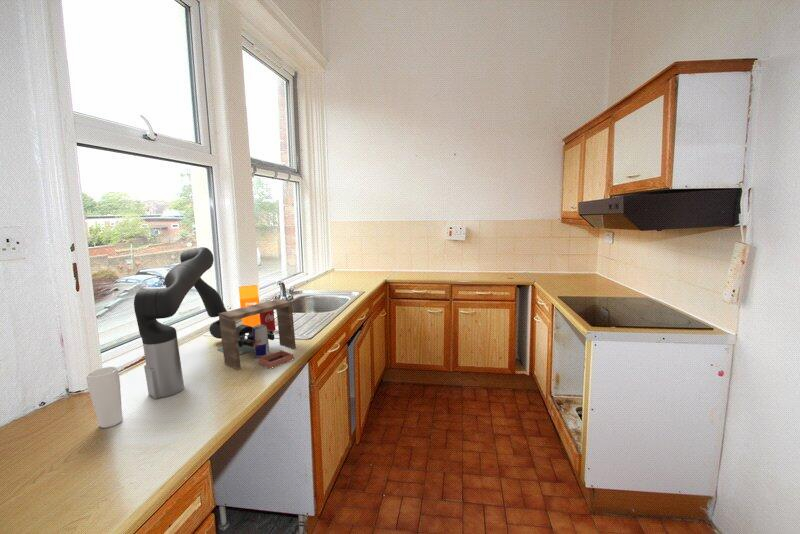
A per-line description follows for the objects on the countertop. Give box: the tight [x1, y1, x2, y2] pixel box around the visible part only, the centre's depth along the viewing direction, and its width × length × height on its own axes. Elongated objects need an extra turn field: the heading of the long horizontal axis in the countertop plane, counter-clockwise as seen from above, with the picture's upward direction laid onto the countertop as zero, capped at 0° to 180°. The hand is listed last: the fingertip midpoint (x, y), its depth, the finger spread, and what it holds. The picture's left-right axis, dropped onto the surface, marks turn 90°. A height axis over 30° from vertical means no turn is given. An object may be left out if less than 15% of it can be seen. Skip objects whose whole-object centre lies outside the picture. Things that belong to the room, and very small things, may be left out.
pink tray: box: [257, 349, 295, 369], centre depth 144 cm, size 10×8×2 cm
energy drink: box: [252, 325, 271, 359], centre depth 149 cm, size 5×5×12 cm
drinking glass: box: [86, 366, 124, 429], centre depth 105 cm, size 7×7×15 cm
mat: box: [216, 341, 255, 356], centre depth 160 cm, size 14×14×1 cm
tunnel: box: [218, 298, 297, 371], centre depth 149 cm, size 25×9×20 cm, turn 140°
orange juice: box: [238, 284, 261, 327], centre depth 191 cm, size 8×9×20 cm
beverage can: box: [259, 310, 276, 333], centre depth 179 cm, size 6×6×12 cm
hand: (263, 340), depth 148 cm, fingers open, 8 cm apart
